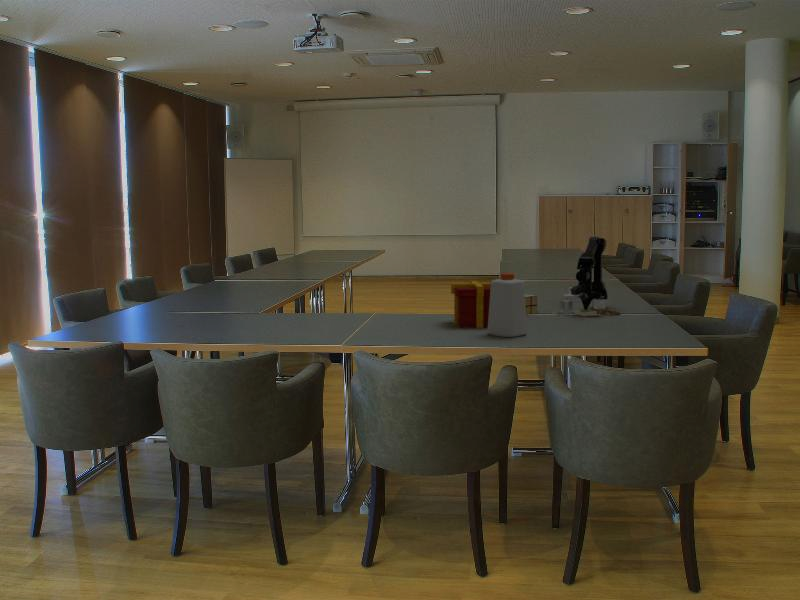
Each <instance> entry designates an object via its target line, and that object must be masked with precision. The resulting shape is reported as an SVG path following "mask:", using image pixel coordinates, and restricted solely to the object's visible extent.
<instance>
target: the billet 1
mask: <svg viewBox="0 0 800 600" xmlns="http://www.w3.org/2000/svg"><path fill="white" fill-rule="evenodd" d="M559 313H560V314H563V315H567V314H573V302H572V301H569V300H564V301H562V300H559Z"/></svg>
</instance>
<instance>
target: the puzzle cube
mask: <svg viewBox="0 0 800 600" xmlns="http://www.w3.org/2000/svg"><path fill="white" fill-rule="evenodd" d="M525 309H526V315H531V314H532V315H533V314H537V313H538V295H536V294H528V293H525Z"/></svg>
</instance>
